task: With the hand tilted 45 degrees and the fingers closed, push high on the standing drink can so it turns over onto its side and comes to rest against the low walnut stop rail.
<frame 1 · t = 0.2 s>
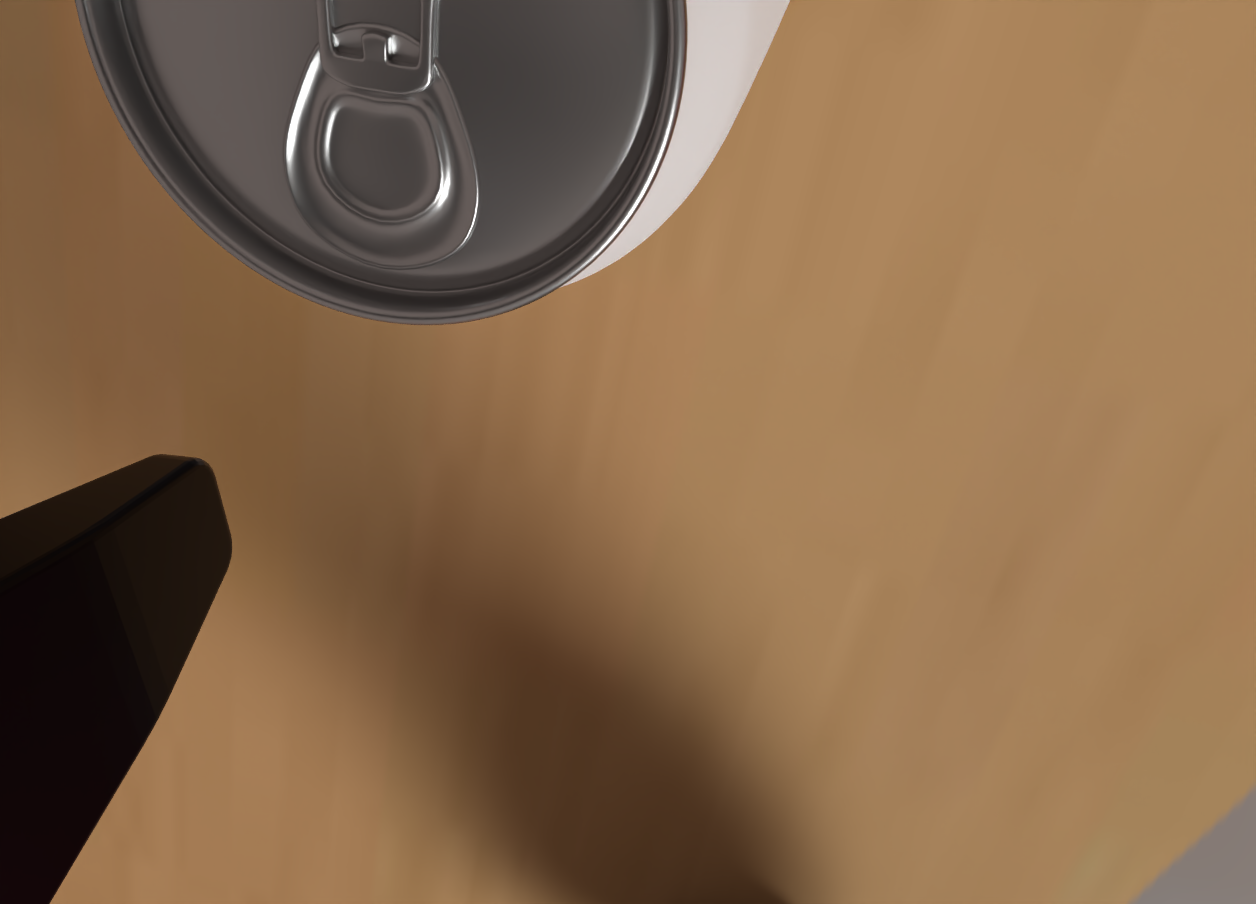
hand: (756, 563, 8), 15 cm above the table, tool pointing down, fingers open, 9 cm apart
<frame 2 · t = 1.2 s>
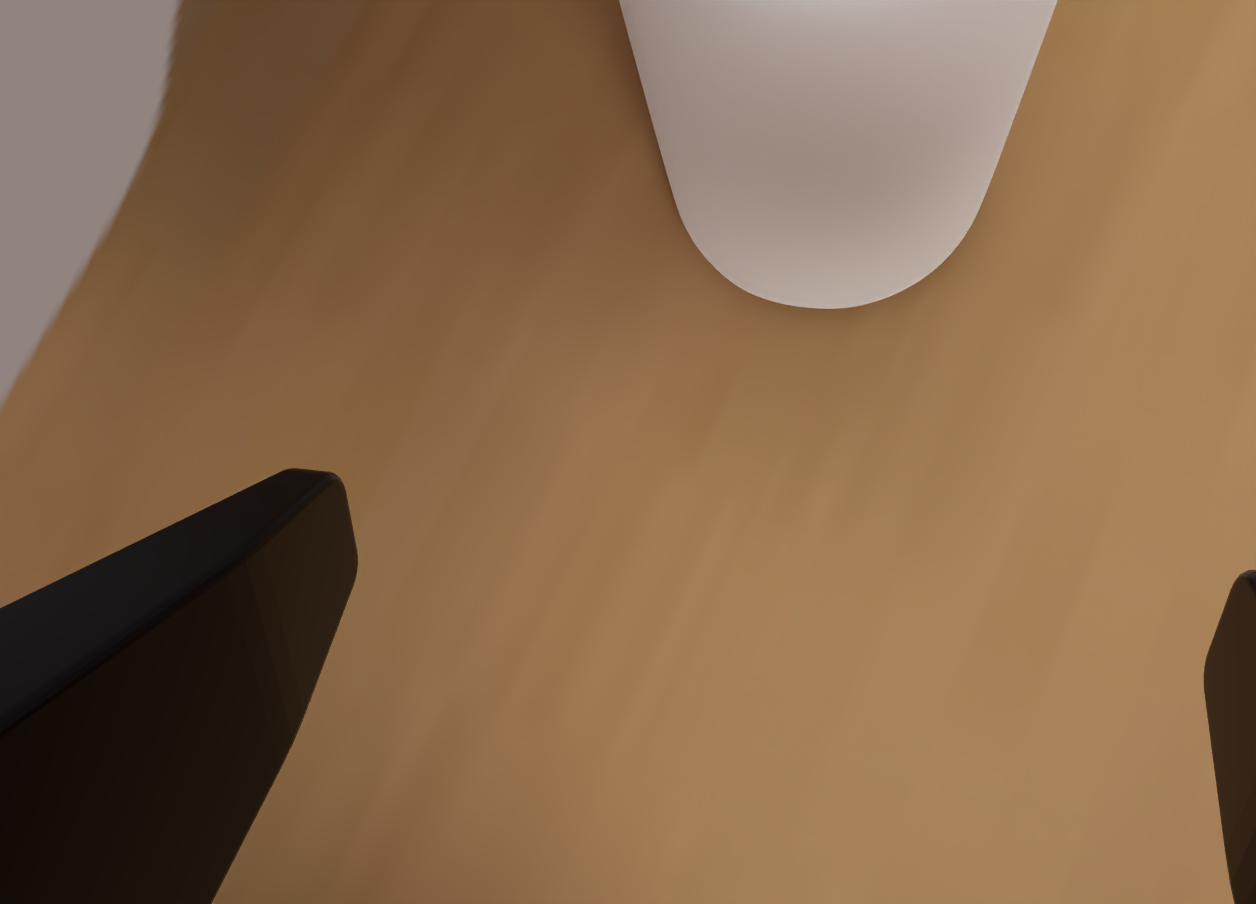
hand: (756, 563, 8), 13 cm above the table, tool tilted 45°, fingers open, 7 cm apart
can: (826, 174, 24), on the table
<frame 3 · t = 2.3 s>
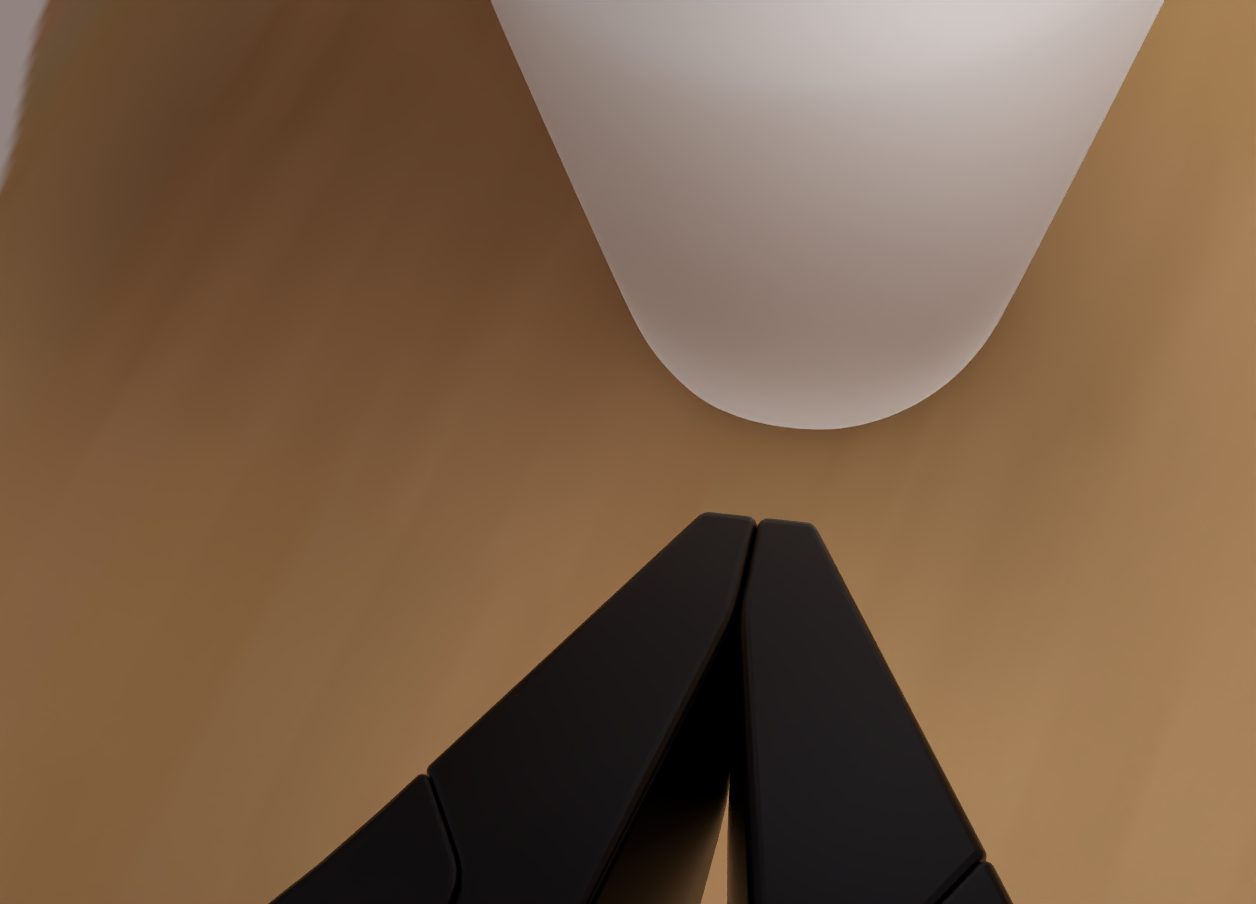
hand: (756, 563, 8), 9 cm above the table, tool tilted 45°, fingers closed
can: (813, 255, 19), on the table
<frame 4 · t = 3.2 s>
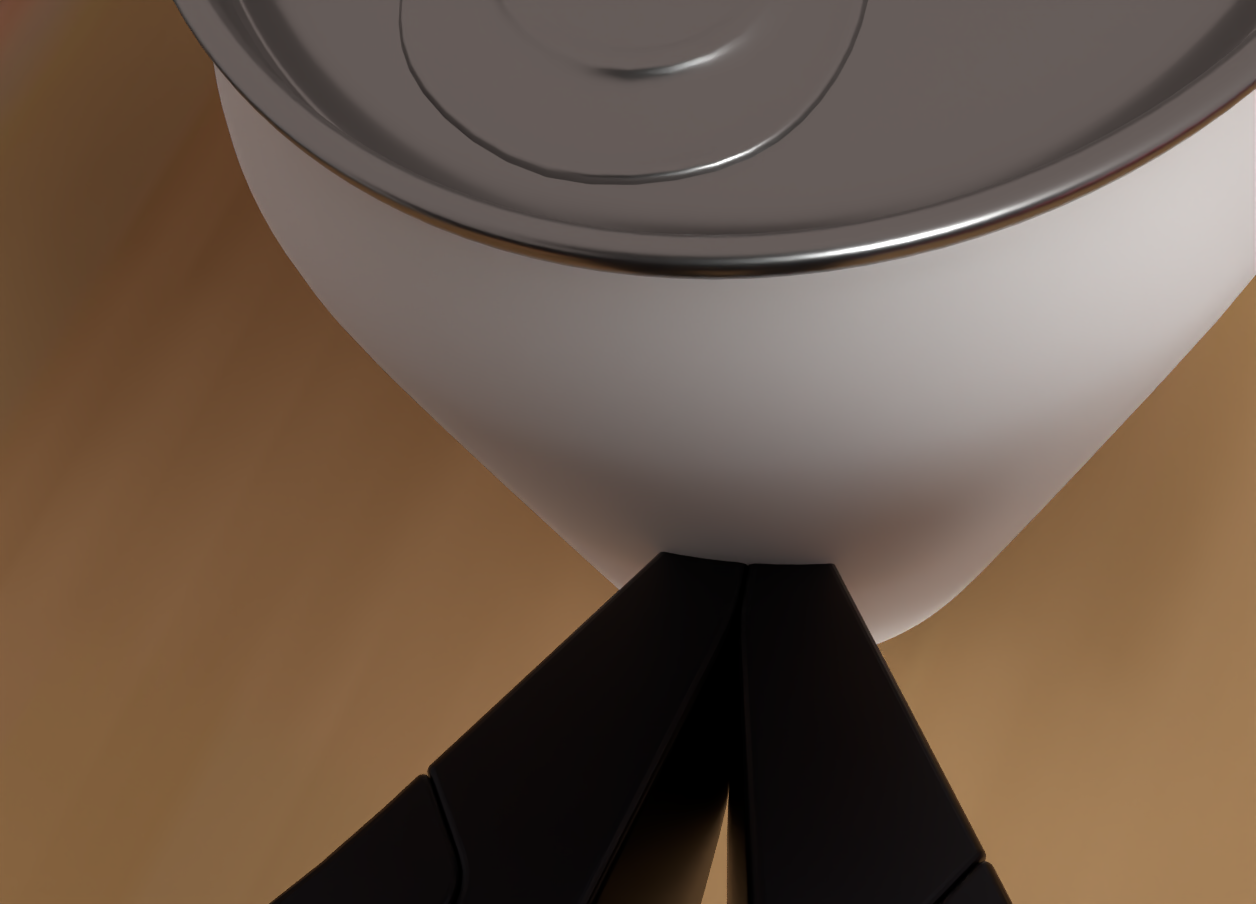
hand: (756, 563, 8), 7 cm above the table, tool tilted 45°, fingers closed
can: (787, 441, 16), on the table, touching gripper
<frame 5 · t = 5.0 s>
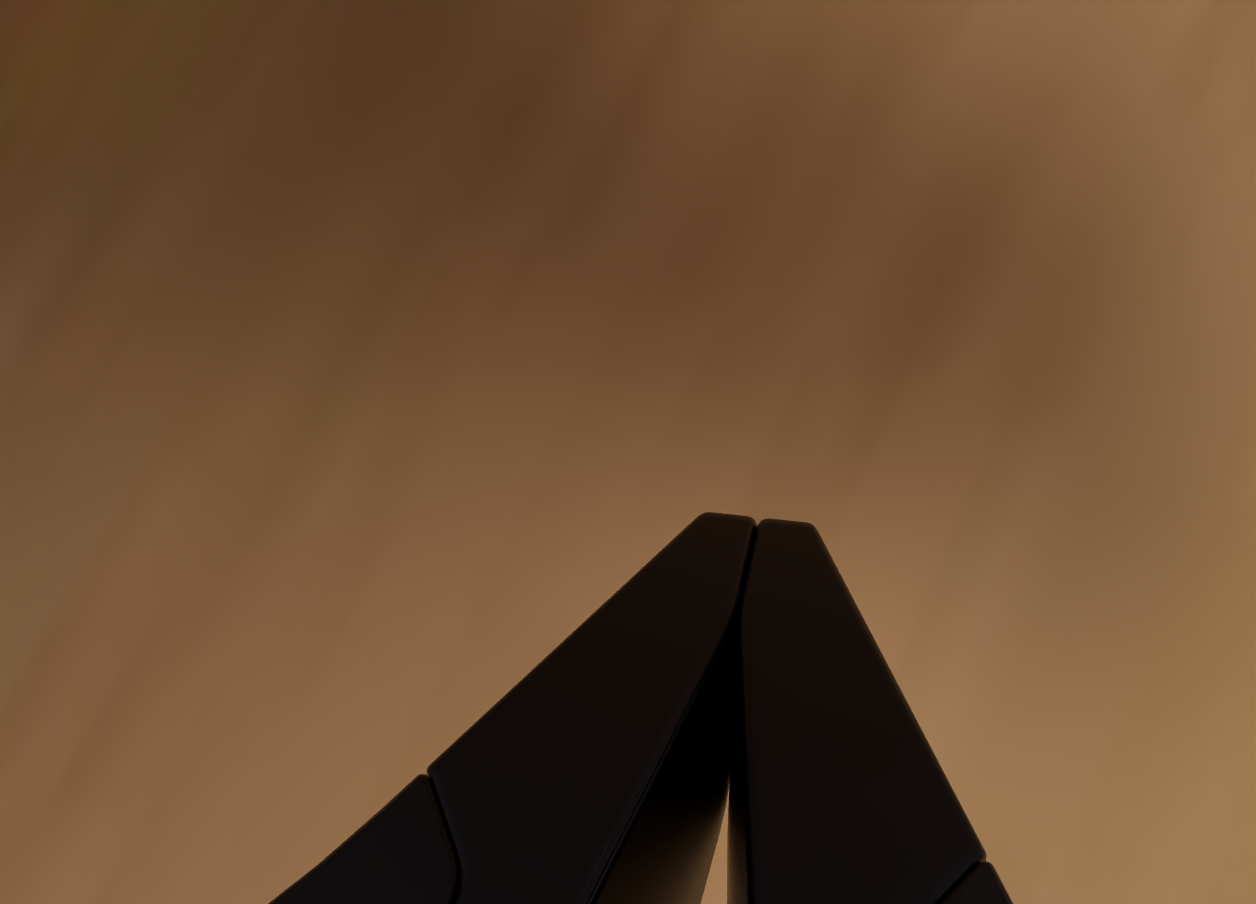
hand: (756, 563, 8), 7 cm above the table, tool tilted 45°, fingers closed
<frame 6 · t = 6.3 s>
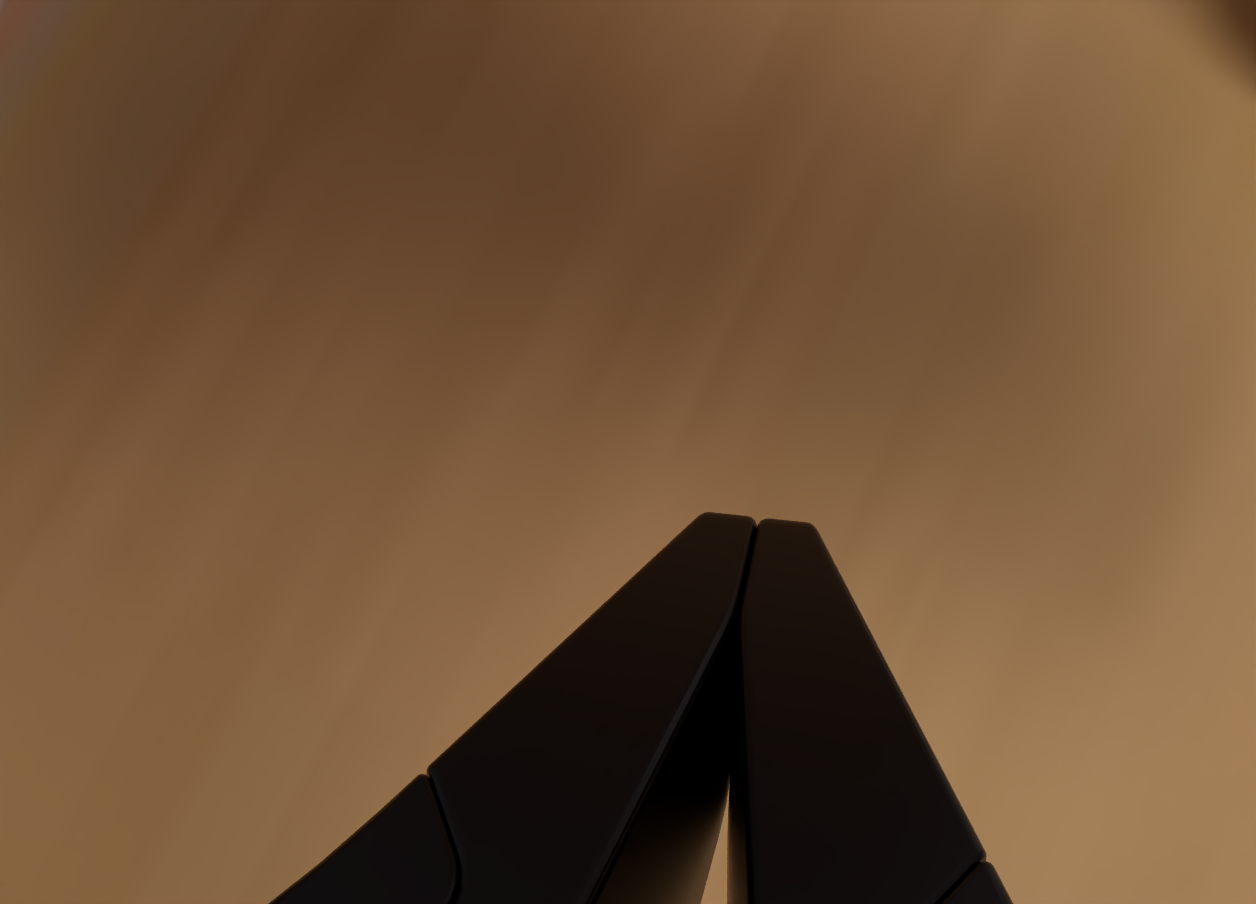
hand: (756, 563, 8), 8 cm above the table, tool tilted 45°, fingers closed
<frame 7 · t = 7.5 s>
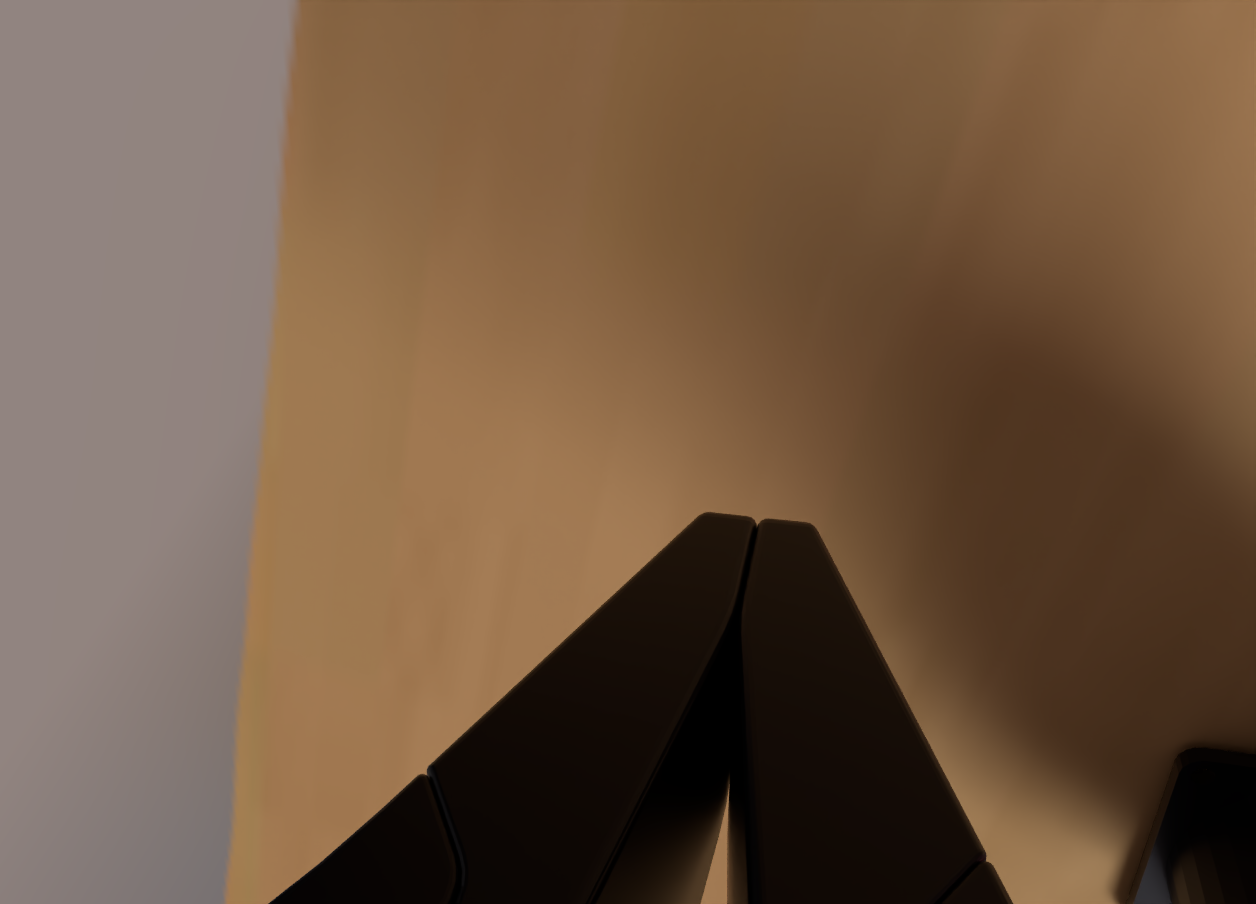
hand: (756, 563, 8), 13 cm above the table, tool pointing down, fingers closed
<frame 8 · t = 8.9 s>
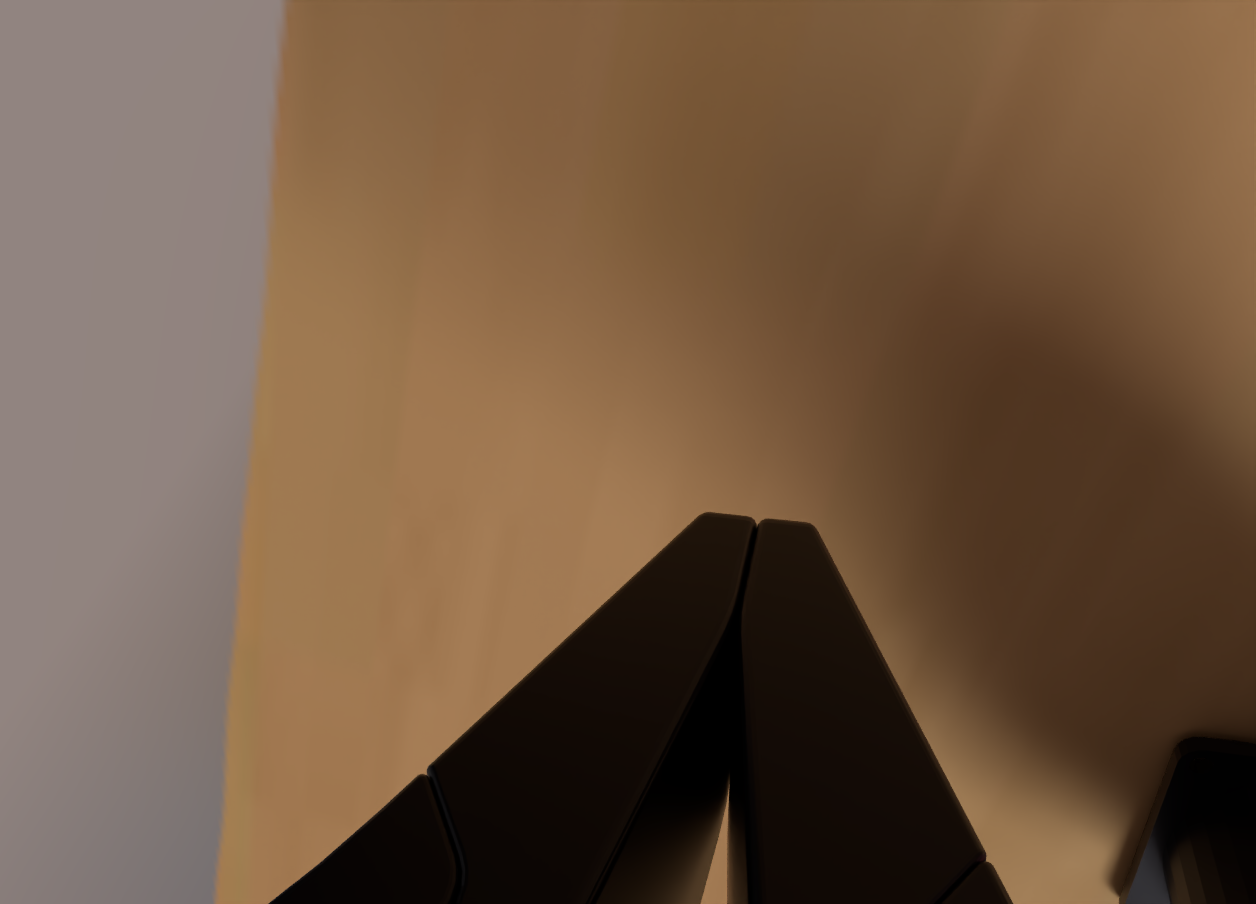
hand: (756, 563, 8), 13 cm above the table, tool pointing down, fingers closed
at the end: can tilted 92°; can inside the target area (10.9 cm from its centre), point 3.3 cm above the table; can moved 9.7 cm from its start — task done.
